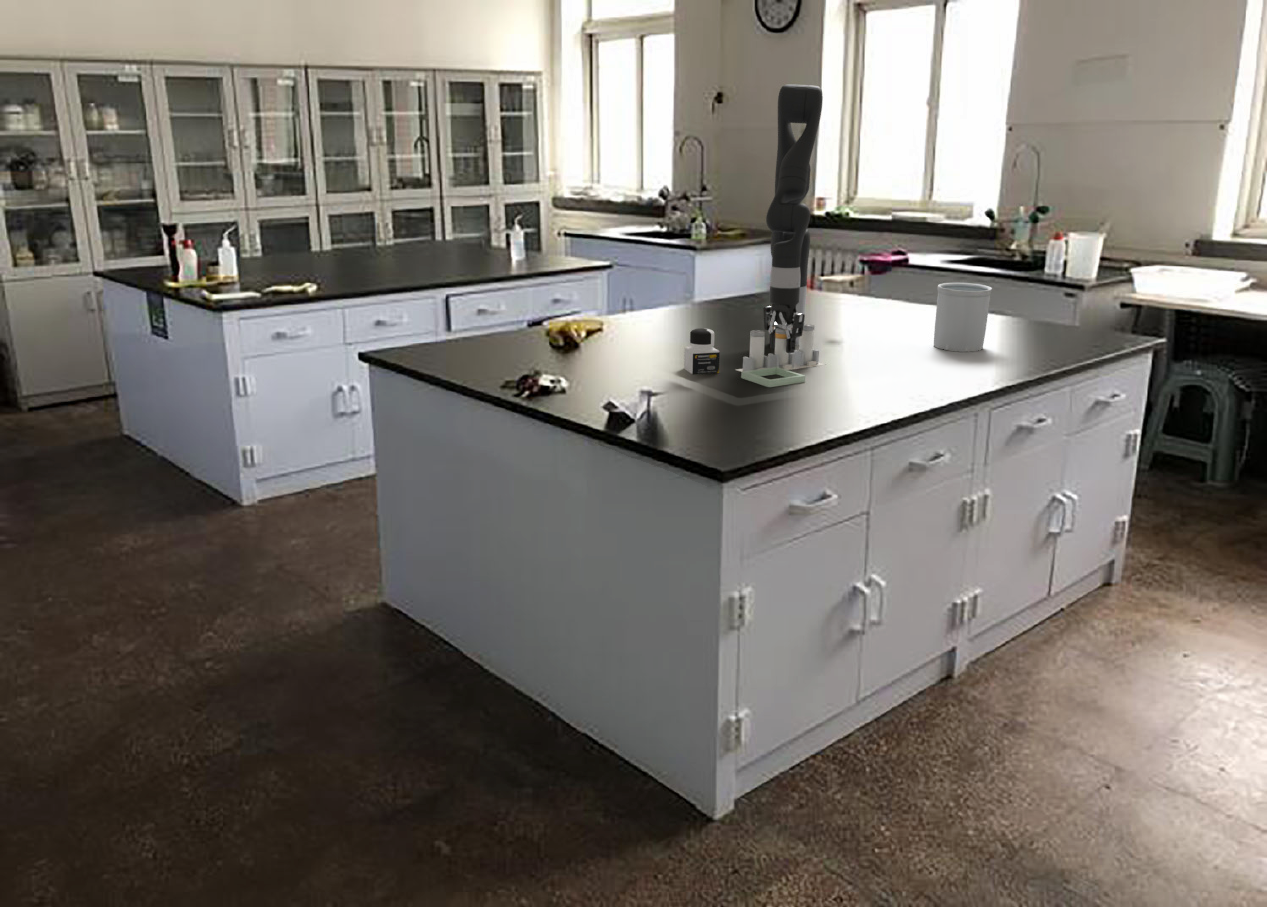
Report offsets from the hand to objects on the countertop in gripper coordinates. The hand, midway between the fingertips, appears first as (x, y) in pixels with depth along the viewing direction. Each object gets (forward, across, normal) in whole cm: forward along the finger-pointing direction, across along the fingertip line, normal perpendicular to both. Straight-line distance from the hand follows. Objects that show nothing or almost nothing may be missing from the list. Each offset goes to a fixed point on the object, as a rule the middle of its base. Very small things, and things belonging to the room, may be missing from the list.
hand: (781, 350), depth 266 cm
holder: (+6, 0, 0) cm, 6 cm away
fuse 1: (+4, 0, +8) cm, 9 cm away
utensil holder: (+6, 0, -65) cm, 65 cm away
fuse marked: (+4, 0, 0) cm, 4 cm away
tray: (+6, -10, +10) cm, 16 cm away
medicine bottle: (+6, +7, +20) cm, 22 cm away
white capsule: (+4, 0, -8) cm, 9 cm away
